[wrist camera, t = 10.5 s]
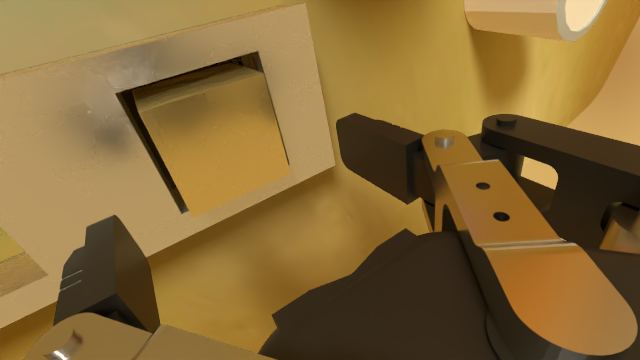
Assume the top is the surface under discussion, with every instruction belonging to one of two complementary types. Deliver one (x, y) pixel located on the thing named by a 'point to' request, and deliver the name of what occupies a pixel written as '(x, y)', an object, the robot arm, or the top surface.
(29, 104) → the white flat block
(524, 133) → the robot arm
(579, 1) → the white cup
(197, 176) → the wooden toy cube
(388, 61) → the top surface
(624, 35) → the top surface
